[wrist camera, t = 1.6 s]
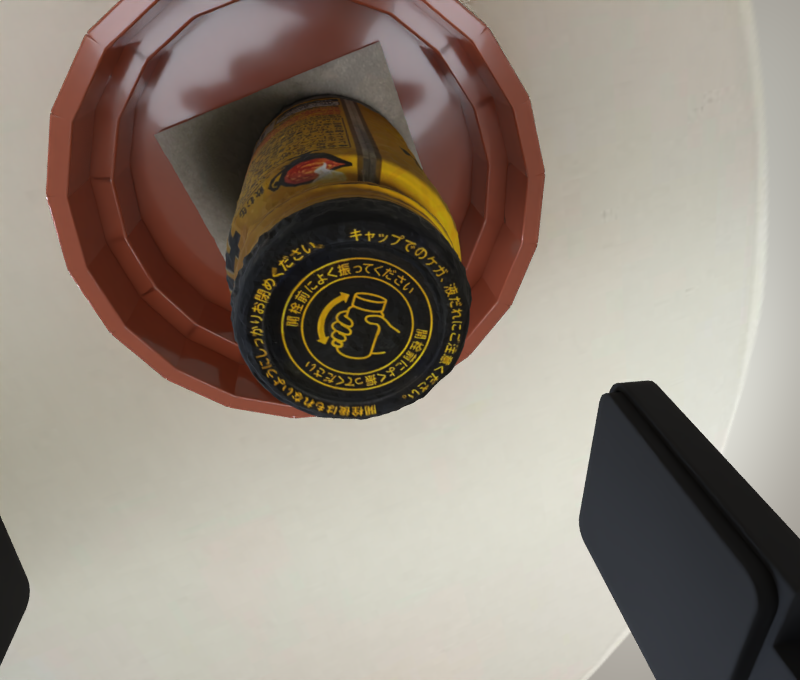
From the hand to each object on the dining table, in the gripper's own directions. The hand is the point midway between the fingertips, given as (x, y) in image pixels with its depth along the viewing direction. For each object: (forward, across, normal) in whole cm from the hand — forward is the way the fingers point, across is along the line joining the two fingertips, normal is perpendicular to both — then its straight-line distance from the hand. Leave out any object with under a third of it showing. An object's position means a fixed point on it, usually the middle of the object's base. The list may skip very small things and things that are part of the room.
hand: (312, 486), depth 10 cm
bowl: (+17, 0, 0) cm, 17 cm away
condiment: (+16, 0, 0) cm, 16 cm away
